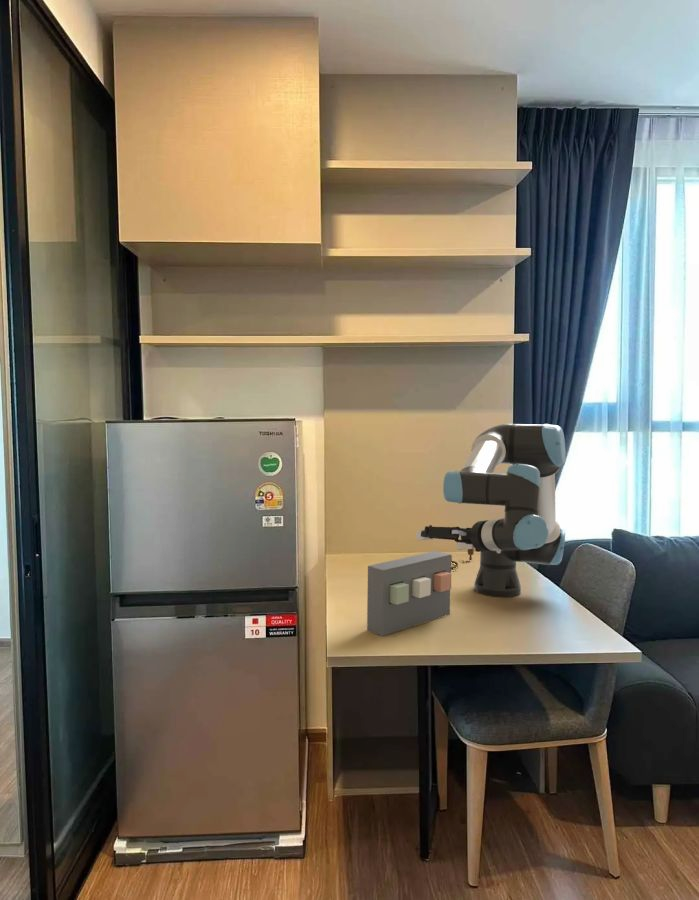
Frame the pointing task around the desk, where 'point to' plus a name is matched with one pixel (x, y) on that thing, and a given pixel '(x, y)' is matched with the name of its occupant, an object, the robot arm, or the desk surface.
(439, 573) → the terracotta button
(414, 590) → the cream button
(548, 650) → the desk surface
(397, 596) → the sage green button
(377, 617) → the button panel
